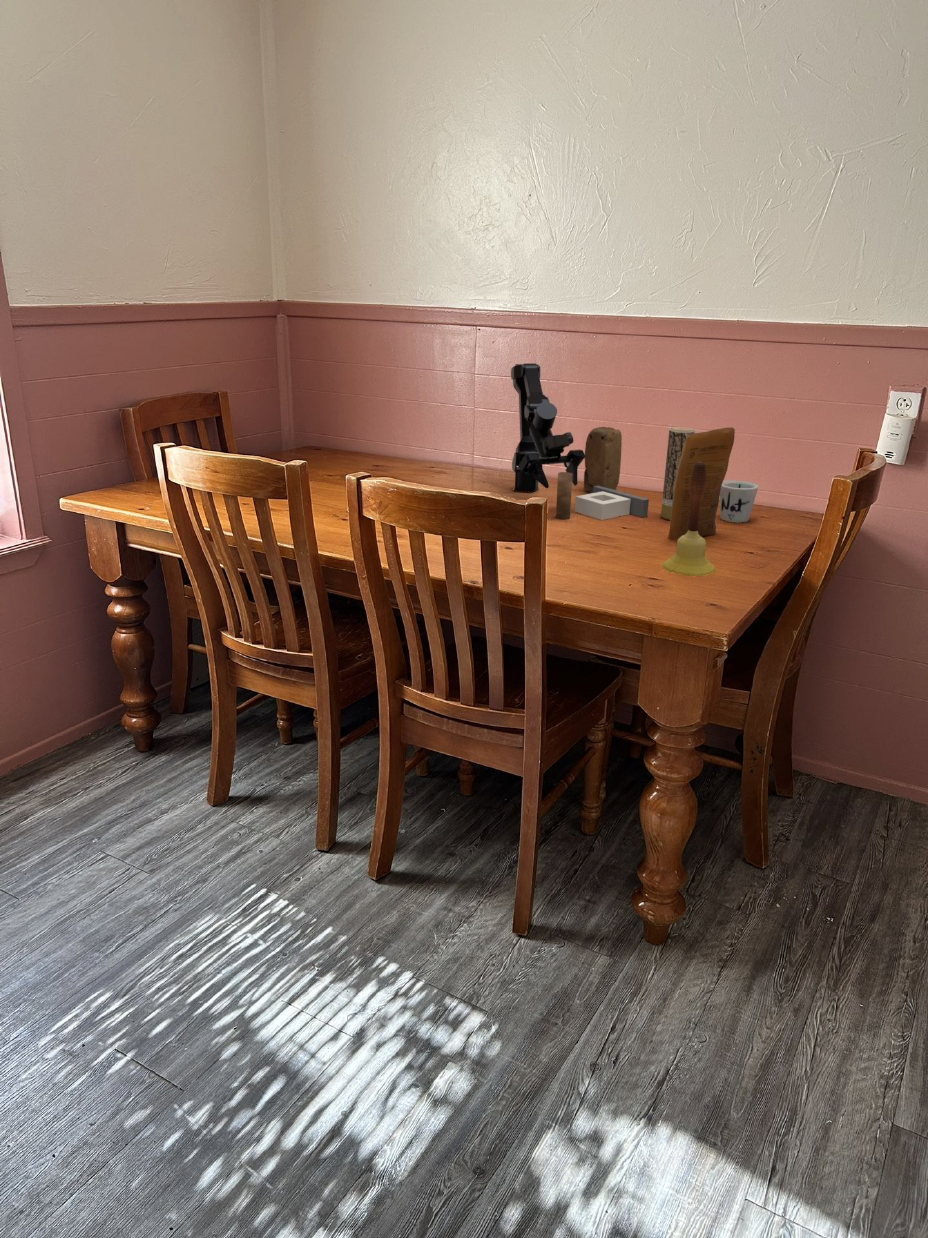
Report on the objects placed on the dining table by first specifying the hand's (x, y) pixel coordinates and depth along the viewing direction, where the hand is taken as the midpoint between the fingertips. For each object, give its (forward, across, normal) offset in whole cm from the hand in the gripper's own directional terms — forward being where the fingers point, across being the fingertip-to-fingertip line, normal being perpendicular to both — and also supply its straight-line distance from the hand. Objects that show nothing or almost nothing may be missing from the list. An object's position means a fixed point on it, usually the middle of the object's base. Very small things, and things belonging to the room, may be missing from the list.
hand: (562, 486), depth 244 cm
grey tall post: (+16, +29, -3) cm, 33 cm away
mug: (+20, +46, -8) cm, 51 cm away
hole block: (+7, +13, +5) cm, 16 cm away
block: (-8, +26, +20) cm, 34 cm away
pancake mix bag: (+28, +23, -15) cm, 39 cm away
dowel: (+7, 0, +5) cm, 9 cm away
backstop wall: (+6, +20, +6) cm, 22 cm away
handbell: (+43, +4, -30) cm, 52 cm away
